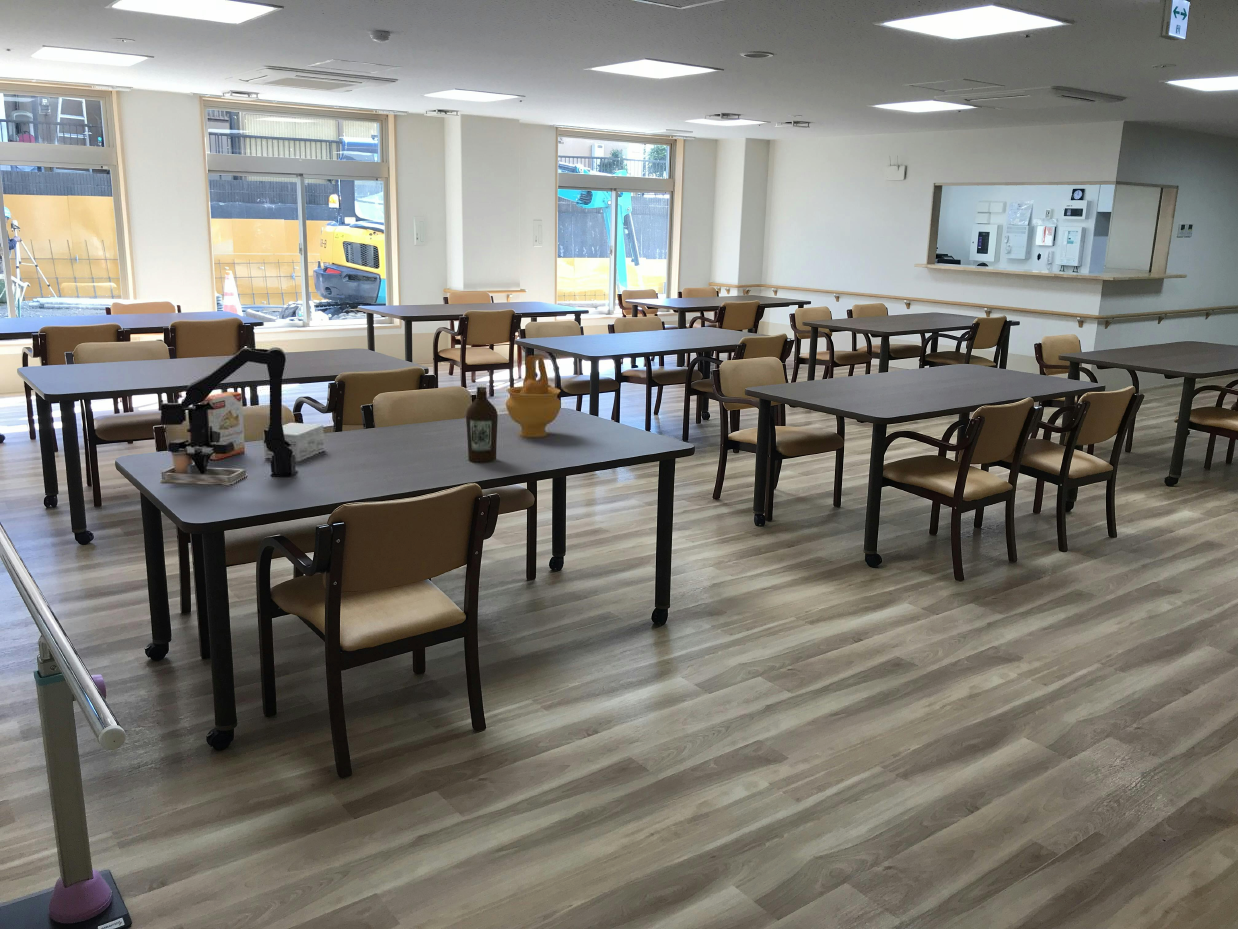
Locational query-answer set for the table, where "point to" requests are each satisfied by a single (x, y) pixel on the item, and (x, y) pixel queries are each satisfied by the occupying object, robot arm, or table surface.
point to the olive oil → (481, 429)
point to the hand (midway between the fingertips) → (203, 474)
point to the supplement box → (302, 440)
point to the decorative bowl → (533, 401)
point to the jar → (181, 461)
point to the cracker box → (227, 420)
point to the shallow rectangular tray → (205, 476)
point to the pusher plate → (192, 469)
